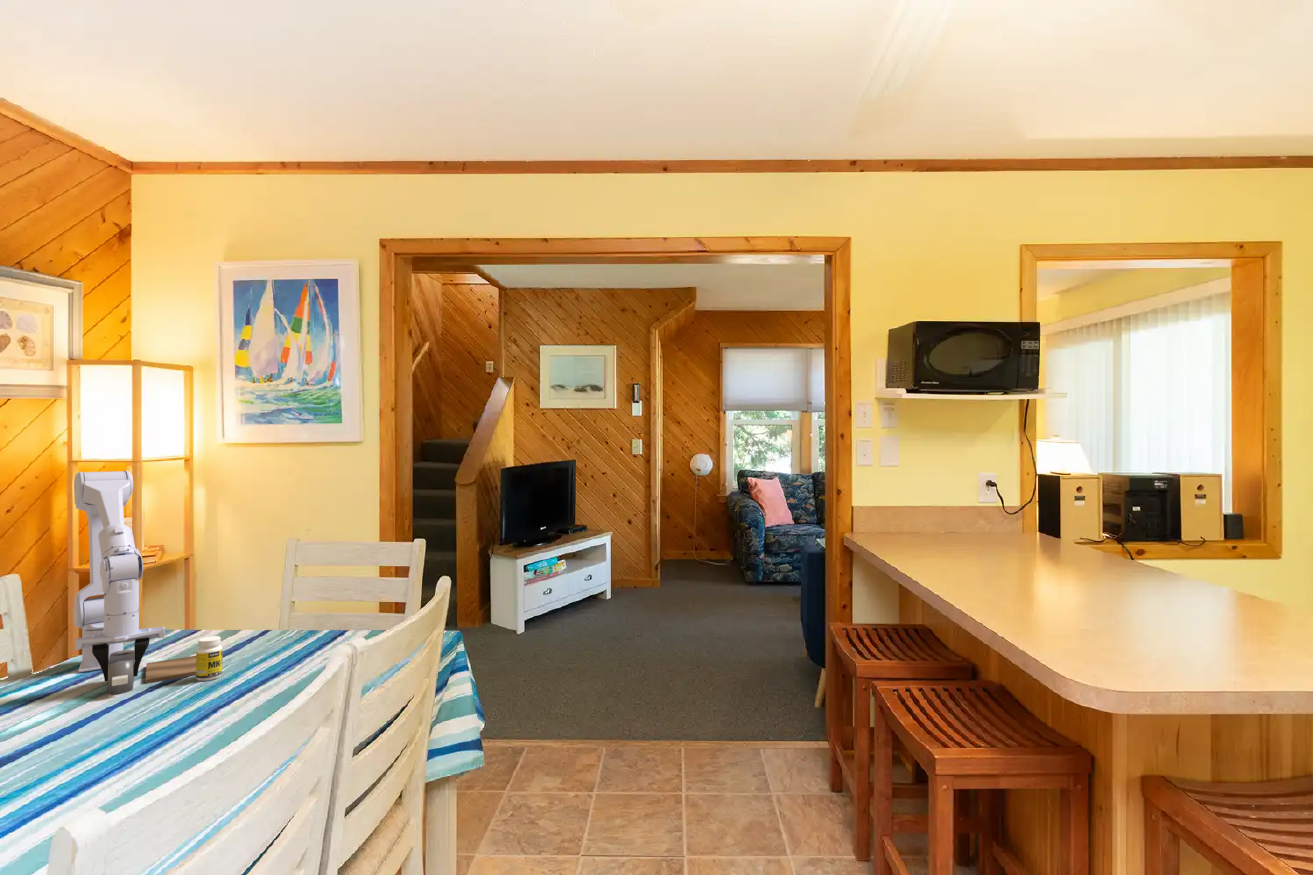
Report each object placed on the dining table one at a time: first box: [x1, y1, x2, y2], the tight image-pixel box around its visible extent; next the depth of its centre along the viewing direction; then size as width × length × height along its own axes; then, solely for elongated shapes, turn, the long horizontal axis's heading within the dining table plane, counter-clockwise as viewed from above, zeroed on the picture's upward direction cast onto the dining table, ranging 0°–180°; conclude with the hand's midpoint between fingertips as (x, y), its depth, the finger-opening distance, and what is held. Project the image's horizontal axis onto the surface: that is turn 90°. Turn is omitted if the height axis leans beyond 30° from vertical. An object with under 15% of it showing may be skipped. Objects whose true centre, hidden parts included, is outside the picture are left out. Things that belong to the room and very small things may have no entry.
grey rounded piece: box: [107, 649, 135, 696], centre depth 139 cm, size 13×4×6 cm, turn 36°
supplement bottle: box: [195, 635, 223, 682], centre depth 144 cm, size 5×5×8 cm
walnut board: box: [144, 655, 196, 684], centre depth 150 cm, size 13×12×1 cm
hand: (121, 677), depth 140 cm, fingers closed on grey rounded piece, 4 cm apart
